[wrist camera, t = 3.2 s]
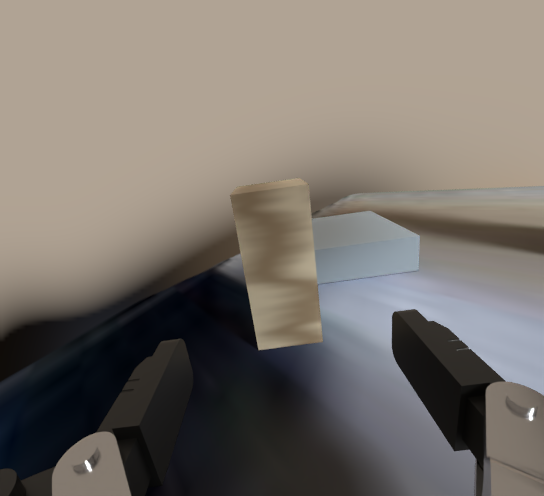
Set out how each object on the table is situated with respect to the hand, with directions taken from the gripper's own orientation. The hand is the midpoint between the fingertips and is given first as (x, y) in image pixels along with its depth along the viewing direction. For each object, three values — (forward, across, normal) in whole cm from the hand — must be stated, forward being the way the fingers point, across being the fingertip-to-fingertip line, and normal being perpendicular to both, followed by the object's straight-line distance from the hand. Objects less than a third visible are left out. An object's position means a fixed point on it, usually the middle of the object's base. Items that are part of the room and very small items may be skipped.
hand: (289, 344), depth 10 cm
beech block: (+11, 0, +7) cm, 13 cm away
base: (+25, -8, +7) cm, 28 cm away
